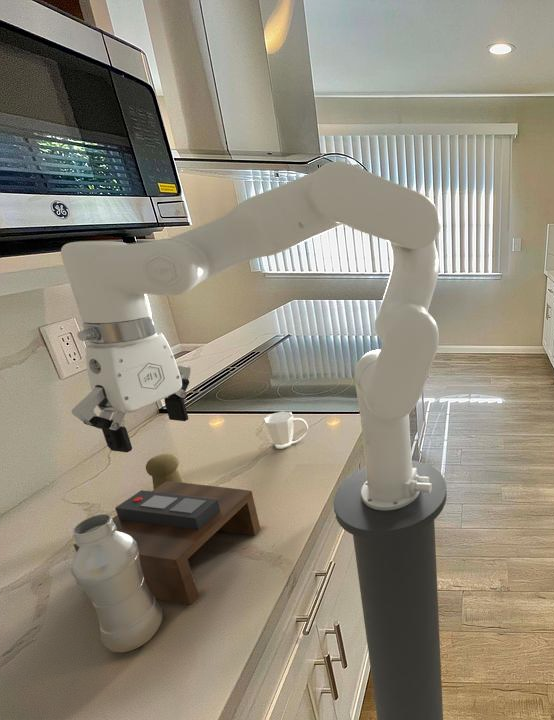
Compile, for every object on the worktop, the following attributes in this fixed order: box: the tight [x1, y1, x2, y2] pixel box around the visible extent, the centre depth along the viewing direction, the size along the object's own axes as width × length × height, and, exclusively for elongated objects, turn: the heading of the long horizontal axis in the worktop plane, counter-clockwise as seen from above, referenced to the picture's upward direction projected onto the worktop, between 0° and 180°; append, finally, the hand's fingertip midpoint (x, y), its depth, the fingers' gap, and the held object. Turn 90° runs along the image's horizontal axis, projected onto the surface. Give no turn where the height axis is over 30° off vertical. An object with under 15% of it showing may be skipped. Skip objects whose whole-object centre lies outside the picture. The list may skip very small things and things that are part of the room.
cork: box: [145, 452, 186, 490], centre depth 81 cm, size 6×6×11 cm
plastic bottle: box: [71, 513, 163, 653], centre depth 53 cm, size 6×7×20 cm
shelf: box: [73, 481, 261, 606], centre depth 68 cm, size 18×16×9 cm
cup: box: [263, 410, 309, 450], centre depth 103 cm, size 7×10×8 cm
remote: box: [114, 490, 220, 530], centre depth 66 cm, size 15×5×3 cm, turn 81°
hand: (152, 434), depth 63 cm, fingers open, 9 cm apart
